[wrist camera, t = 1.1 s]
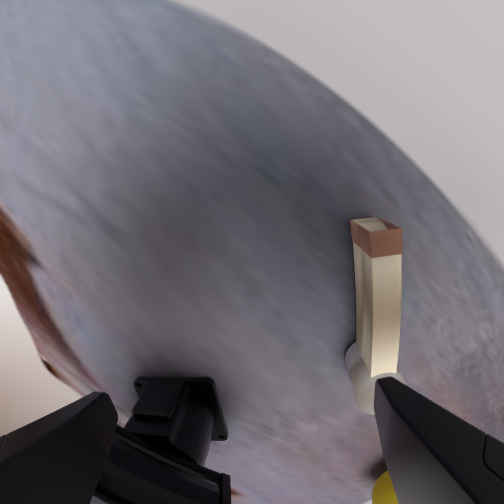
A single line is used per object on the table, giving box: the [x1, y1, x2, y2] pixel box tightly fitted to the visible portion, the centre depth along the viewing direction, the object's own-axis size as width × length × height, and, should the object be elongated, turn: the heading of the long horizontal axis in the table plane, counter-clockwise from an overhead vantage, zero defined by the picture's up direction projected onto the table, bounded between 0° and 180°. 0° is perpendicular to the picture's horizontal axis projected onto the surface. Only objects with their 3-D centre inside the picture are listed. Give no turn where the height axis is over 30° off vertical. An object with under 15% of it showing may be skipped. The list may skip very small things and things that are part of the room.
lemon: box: [372, 470, 399, 504], centre depth 19 cm, size 6×6×8 cm
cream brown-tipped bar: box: [345, 217, 406, 415], centre depth 16 cm, size 11×3×4 cm, turn 8°
